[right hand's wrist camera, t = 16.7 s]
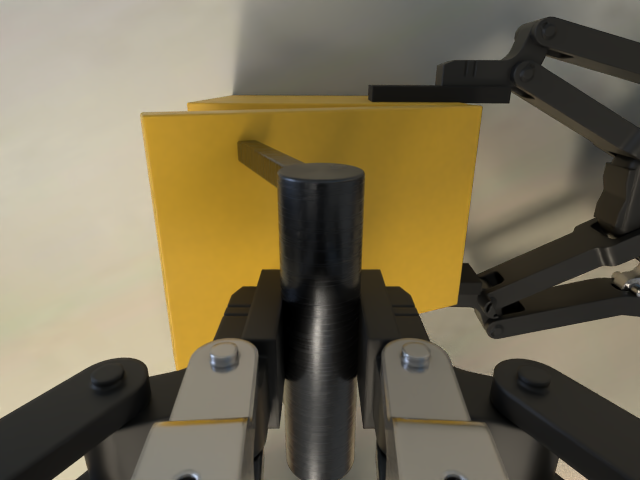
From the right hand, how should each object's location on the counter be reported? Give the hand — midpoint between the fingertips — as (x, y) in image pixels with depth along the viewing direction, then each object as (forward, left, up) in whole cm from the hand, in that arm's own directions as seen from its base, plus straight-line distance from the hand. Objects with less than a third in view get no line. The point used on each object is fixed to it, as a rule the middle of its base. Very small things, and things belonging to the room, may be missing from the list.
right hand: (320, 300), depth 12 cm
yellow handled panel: (0, 0, -7) cm, 7 cm away
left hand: (0, -2, -12) cm, 12 cm away
